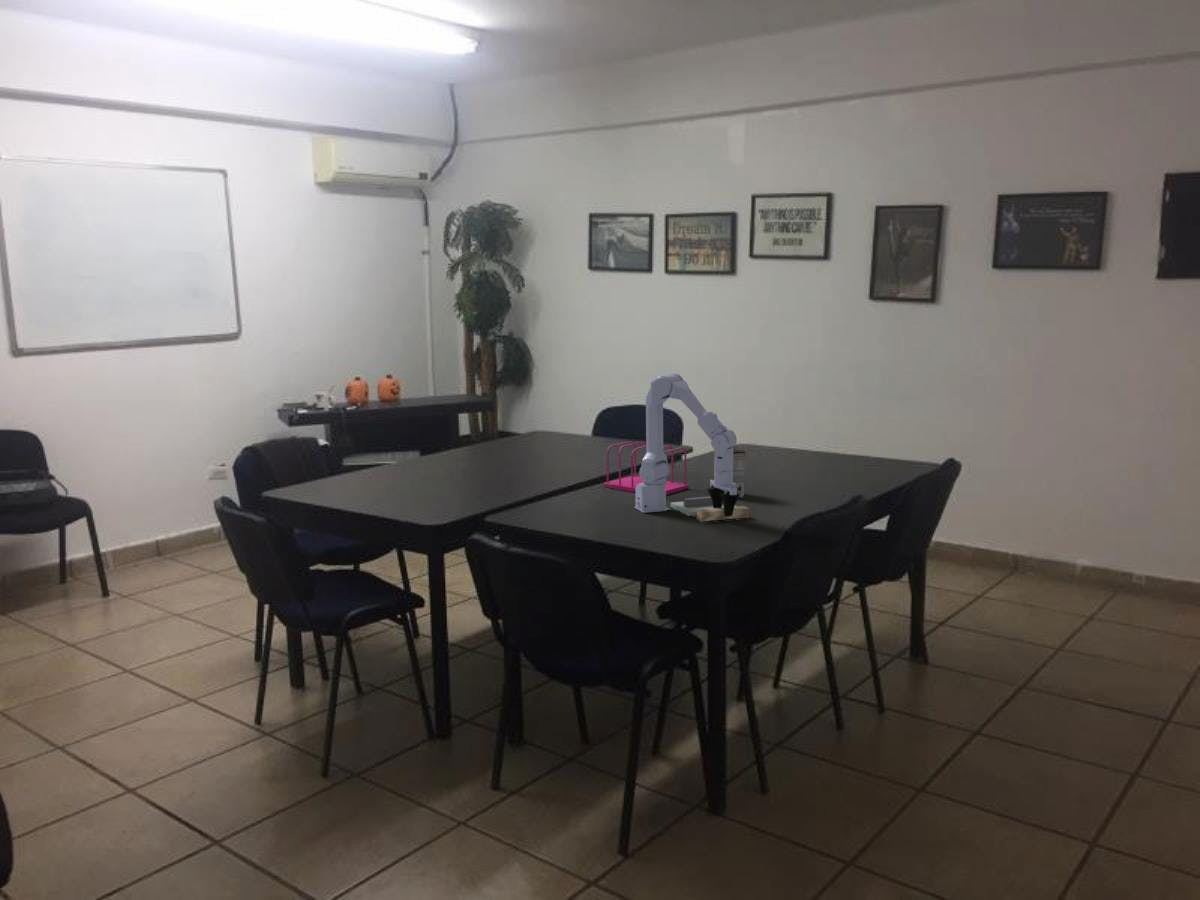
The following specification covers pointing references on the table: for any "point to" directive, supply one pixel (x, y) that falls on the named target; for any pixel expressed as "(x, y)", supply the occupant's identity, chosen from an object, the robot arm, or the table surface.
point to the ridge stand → (693, 505)
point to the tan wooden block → (722, 513)
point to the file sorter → (632, 481)
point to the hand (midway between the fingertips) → (722, 513)
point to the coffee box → (738, 470)
